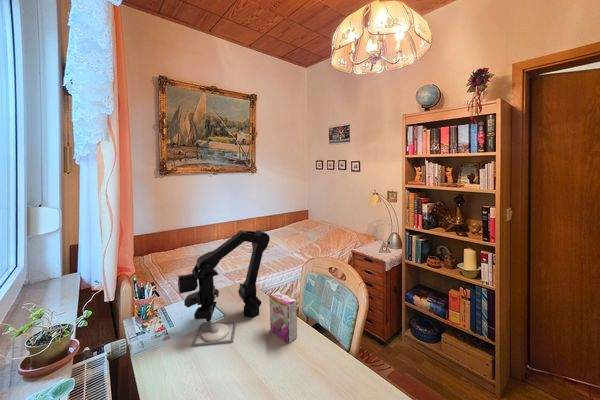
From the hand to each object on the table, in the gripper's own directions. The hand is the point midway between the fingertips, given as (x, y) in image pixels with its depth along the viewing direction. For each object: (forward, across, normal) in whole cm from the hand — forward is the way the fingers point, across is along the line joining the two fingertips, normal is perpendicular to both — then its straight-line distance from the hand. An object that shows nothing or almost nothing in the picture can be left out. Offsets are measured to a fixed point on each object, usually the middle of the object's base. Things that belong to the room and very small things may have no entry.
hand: (208, 322), depth 110 cm
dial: (+2, +4, +4) cm, 6 cm away
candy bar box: (+4, +8, +30) cm, 32 cm away
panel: (+4, +4, +4) cm, 7 cm away
